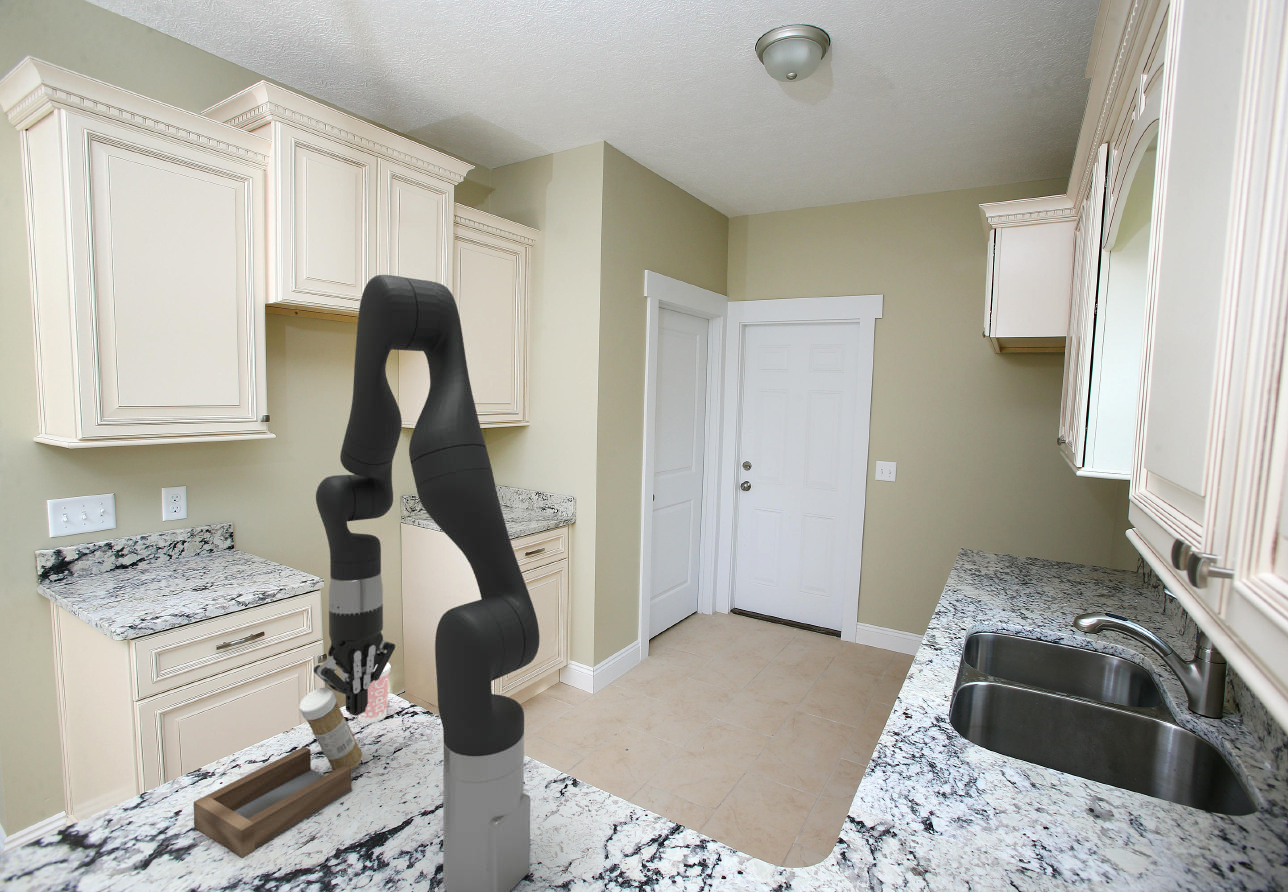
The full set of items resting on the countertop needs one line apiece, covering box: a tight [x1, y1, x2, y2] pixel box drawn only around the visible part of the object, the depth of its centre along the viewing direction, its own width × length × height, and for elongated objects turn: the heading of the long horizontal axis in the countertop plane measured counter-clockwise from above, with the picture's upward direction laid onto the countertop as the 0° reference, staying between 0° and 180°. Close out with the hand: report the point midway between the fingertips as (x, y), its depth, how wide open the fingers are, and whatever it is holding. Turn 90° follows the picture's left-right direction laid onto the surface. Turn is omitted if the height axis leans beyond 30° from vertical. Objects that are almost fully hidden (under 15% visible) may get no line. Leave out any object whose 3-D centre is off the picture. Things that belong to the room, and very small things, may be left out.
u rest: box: [193, 746, 353, 859], centre depth 83 cm, size 11×15×4 cm
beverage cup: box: [358, 661, 392, 724], centre depth 107 cm, size 6×6×14 cm
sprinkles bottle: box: [298, 686, 364, 772], centre depth 90 cm, size 5×5×14 cm
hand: (357, 712), depth 93 cm, fingers closed
